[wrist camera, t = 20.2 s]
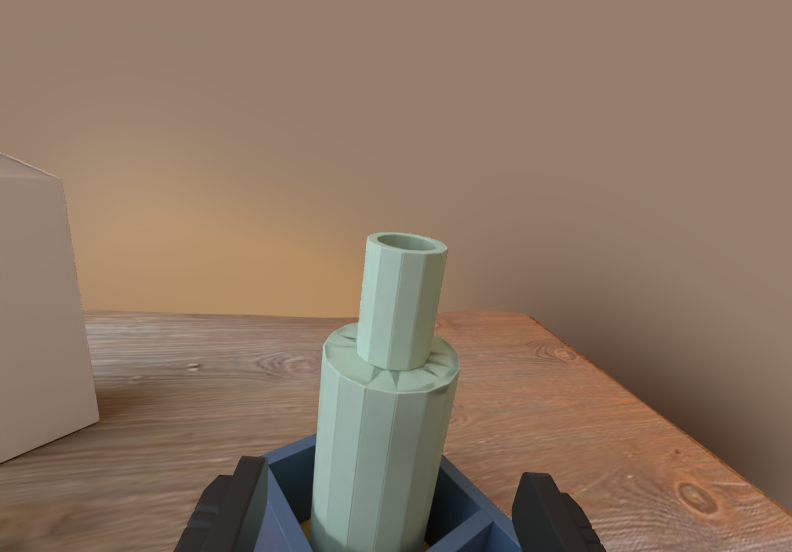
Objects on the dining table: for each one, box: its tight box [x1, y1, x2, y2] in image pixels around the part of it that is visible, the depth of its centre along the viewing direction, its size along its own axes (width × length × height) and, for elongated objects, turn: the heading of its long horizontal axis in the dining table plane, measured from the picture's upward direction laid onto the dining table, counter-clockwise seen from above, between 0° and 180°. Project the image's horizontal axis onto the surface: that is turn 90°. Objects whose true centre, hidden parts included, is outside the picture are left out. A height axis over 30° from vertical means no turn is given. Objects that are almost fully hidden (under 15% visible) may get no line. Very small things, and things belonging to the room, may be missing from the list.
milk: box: [0, 152, 100, 463], centre depth 25 cm, size 6×6×22 cm
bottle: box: [309, 232, 460, 552], centre depth 18 cm, size 6×6×19 cm
